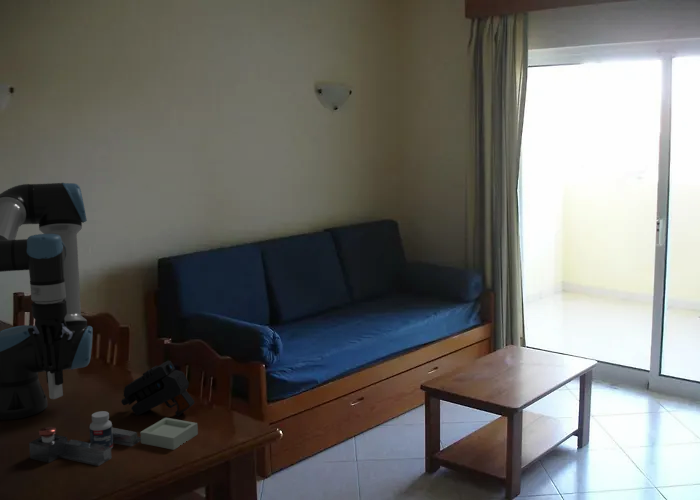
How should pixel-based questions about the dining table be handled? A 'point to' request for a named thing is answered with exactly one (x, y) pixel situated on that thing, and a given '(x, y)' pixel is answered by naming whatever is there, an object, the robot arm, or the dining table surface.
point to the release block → (47, 449)
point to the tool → (158, 390)
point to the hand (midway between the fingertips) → (56, 396)
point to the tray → (169, 433)
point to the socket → (97, 448)
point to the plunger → (47, 434)
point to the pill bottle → (101, 429)
